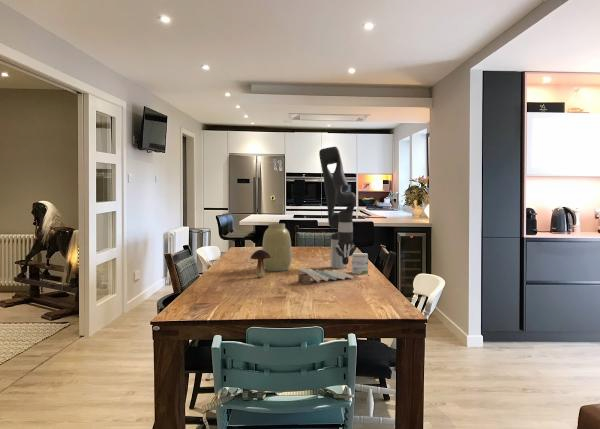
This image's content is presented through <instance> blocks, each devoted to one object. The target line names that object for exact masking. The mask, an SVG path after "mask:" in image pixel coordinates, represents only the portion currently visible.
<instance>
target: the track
mask: <svg viewBox="0 0 600 429" xmlns="http://www.w3.org/2000/svg"><path fill="white" fill-rule="evenodd" d="M297 275H298V277H297V280H294V281H293V282H294V283H295V284H298V285H301V286H310V285H318V284H319V285H320V284H328V283H331V284H332V283H338V282H339V283H341V282H350V281H351V282H352V281H360V280H363V278H362V277H358V276H356V275H353V276H354V277H353V279H351V278H348V277H345V276H344V277H345V280H343V279H340V278H338V277H336V278H337V279H336V281H335V280H333V279H330V278H328V277H327V278H328V281H324V280H322V279H320V278H319V279H320V281H319V282H316V281H314V280H313V279H311V276H310V275H307V274H305V273H304V272H300V273H298V274H297Z"/></svg>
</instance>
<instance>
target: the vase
mask: <svg viewBox="0 0 600 429" xmlns="http://www.w3.org/2000/svg"><path fill="white" fill-rule="evenodd" d="M261 250H263V251H265V252H267V253H268V254H269V255H270V257H271V258H266V259H263V262H264V270H266V271H267V272H268V271H269V272H285V271H287V270H289V269H290V266H291V264H292V240H291V235H290V231H289V229H287V228H286V224H285V223H281V222H279V223H268V228H266V230H265V231H264V233H263V239H262V249H261Z"/></svg>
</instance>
